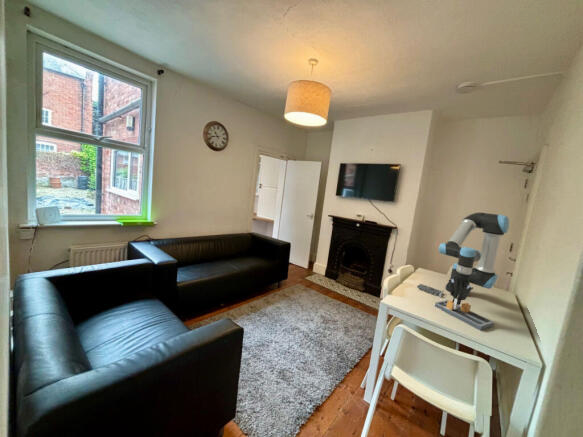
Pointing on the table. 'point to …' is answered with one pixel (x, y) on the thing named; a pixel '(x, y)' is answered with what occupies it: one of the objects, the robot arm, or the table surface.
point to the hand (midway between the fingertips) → (455, 308)
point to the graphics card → (430, 290)
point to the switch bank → (466, 316)
